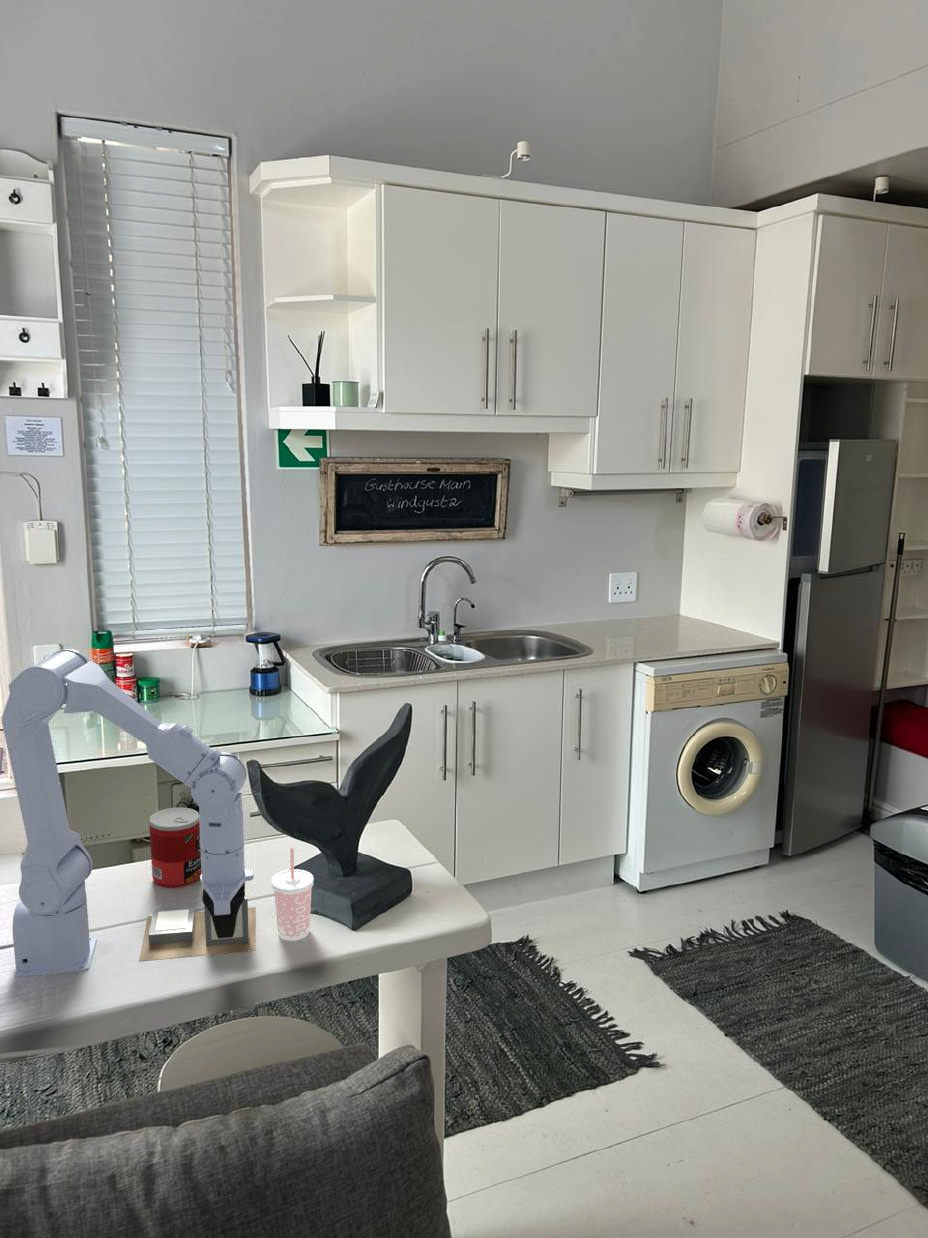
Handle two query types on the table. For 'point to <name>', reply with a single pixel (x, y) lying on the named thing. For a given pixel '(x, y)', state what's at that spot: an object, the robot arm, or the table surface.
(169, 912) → the grey framed square tile
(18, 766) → the robot arm
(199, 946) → the cork mat
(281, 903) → the beverage cup
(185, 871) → the canned food
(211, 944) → the gray framed tile
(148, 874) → the table surface
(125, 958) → the table surface
